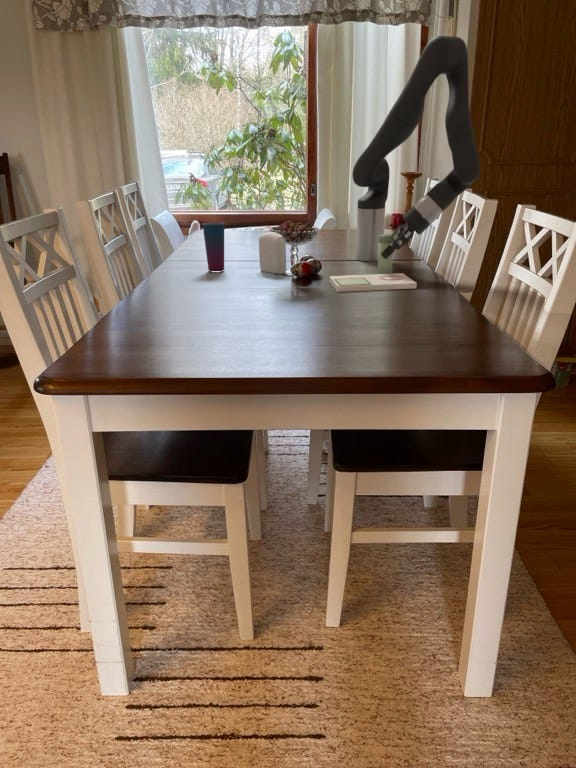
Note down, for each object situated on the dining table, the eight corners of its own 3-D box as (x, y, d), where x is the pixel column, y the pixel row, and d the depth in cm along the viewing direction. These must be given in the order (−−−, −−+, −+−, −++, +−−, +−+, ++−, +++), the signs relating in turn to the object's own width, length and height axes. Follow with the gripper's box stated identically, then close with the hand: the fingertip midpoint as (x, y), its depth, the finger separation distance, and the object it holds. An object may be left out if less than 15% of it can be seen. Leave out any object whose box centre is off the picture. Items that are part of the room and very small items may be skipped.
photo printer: (258, 270, 195) (256, 231, 191) (268, 268, 198) (267, 230, 193) (277, 275, 188) (276, 234, 183) (288, 273, 190) (287, 233, 186)
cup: (202, 272, 194) (198, 224, 189) (212, 268, 200) (209, 222, 195) (220, 273, 192) (217, 225, 186) (230, 269, 198) (228, 222, 192)
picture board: (329, 281, 178) (329, 275, 177) (402, 278, 180) (402, 272, 179) (337, 291, 165) (337, 285, 164) (416, 288, 167) (416, 282, 166)
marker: (375, 274, 186) (377, 234, 181) (389, 273, 186) (391, 234, 182) (379, 277, 182) (380, 236, 177) (393, 276, 182) (395, 236, 178)
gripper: (410, 203, 183) (371, 242, 188) (417, 207, 169) (374, 249, 174) (427, 220, 184) (388, 259, 189) (435, 226, 171) (392, 267, 176)
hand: (381, 254), depth 182 cm, fingers open, 8 cm apart
